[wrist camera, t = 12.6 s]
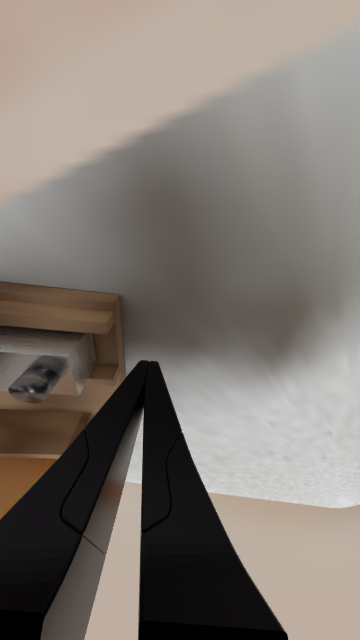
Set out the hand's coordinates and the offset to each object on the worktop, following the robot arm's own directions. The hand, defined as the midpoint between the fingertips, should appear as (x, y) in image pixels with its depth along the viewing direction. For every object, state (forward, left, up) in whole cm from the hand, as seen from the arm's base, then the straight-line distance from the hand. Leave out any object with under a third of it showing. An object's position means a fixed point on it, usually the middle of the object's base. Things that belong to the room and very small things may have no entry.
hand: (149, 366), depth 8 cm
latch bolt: (-5, 0, -1) cm, 5 cm away
